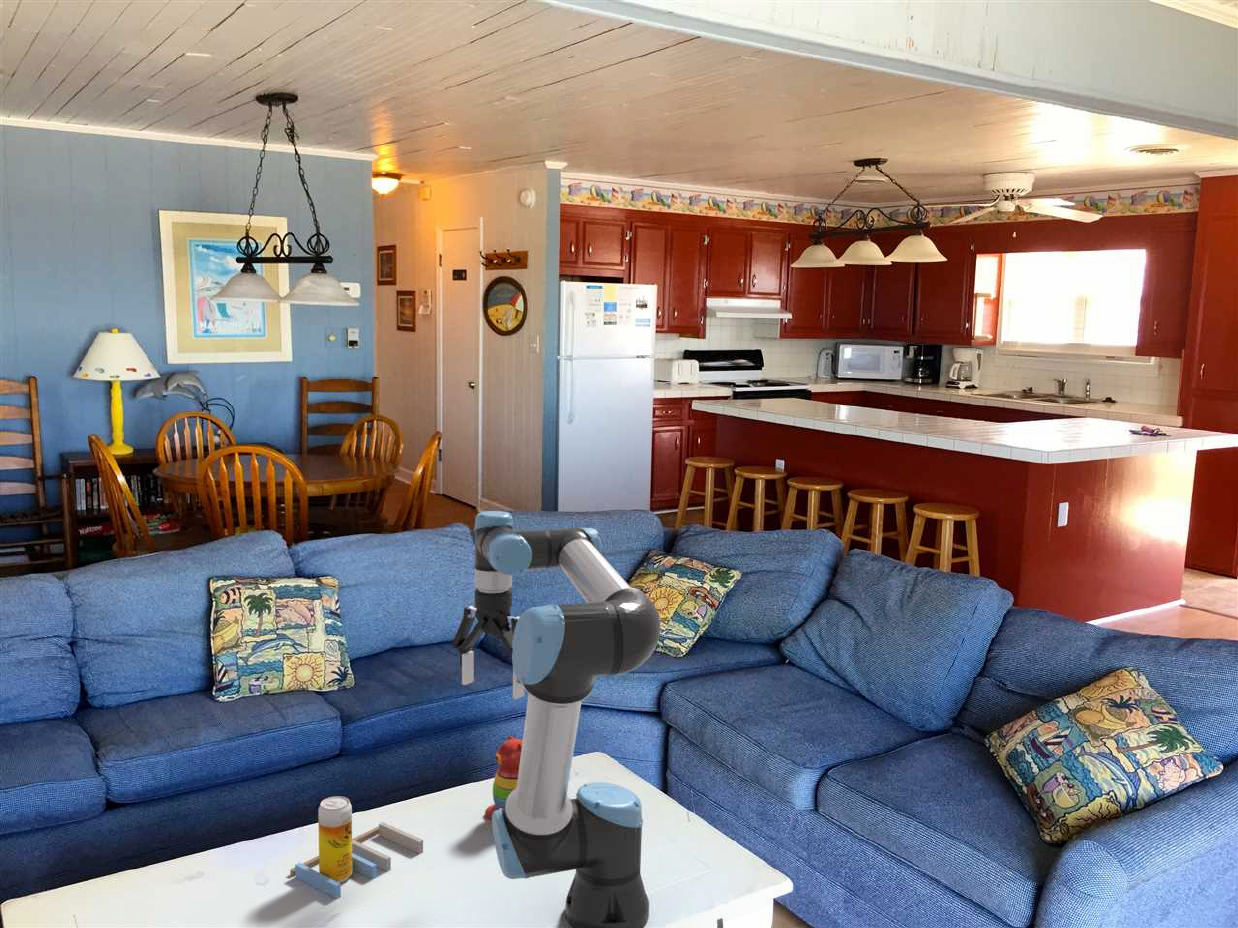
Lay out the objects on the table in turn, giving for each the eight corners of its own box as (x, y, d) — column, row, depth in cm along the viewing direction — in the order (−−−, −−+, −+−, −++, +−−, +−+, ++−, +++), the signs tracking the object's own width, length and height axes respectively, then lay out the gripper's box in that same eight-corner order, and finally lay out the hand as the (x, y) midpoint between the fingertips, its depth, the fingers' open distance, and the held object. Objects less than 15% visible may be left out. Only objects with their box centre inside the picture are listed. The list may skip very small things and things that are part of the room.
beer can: (343, 887, 189) (342, 811, 187) (313, 883, 190) (312, 807, 188) (358, 870, 195) (357, 797, 193) (328, 866, 196) (327, 793, 194)
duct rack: (423, 851, 202) (423, 839, 202) (336, 898, 185) (336, 885, 185) (377, 830, 210) (377, 819, 210) (290, 874, 193) (290, 862, 192)
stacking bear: (482, 812, 219) (483, 734, 217) (526, 804, 224) (527, 727, 221) (498, 835, 210) (498, 753, 207) (543, 826, 214) (544, 746, 212)
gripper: (554, 594, 199) (552, 698, 202) (460, 575, 213) (459, 672, 215) (530, 602, 193) (528, 709, 195) (434, 582, 206) (435, 682, 209)
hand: (492, 690), depth 205 cm, fingers open, 13 cm apart
